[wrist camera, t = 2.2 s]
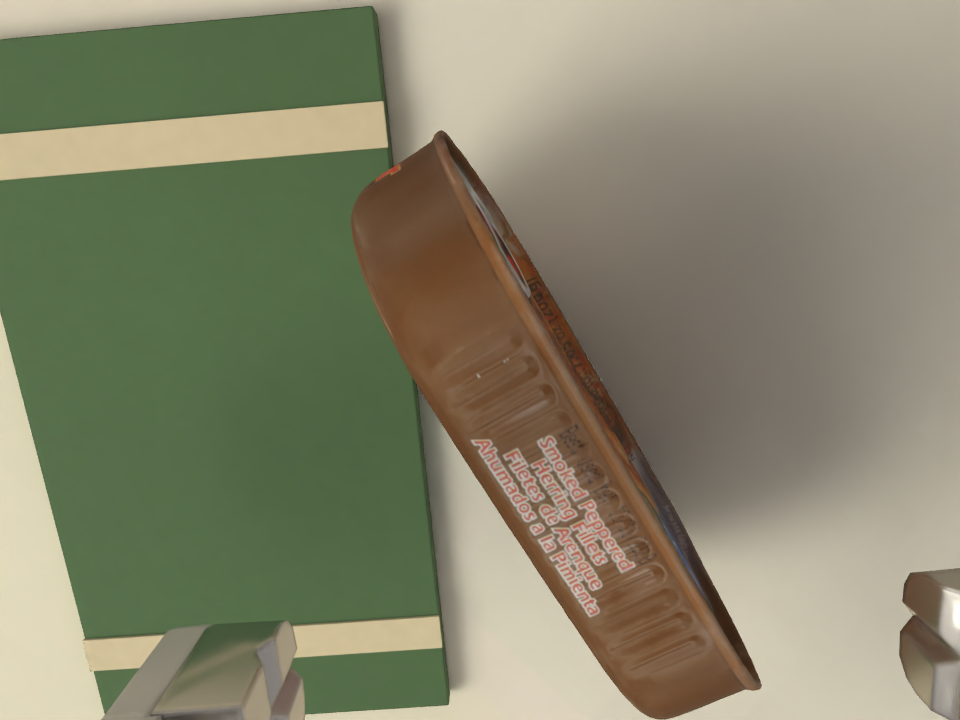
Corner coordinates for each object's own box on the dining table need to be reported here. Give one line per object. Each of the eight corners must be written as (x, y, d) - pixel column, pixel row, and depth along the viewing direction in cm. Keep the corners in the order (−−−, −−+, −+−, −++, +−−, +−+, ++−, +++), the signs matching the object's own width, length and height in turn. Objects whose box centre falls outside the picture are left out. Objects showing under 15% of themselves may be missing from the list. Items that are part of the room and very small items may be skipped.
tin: (698, 549, 21) (839, 769, 13) (614, 592, 21) (698, 833, 13) (462, 142, 18) (447, 83, 10) (370, 201, 18) (280, 192, 10)
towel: (376, 11, 17) (372, 3, 16) (450, 692, 22) (448, 708, 22) (-52, 50, 17) (-74, 43, 17) (117, 714, 22) (105, 730, 22)
